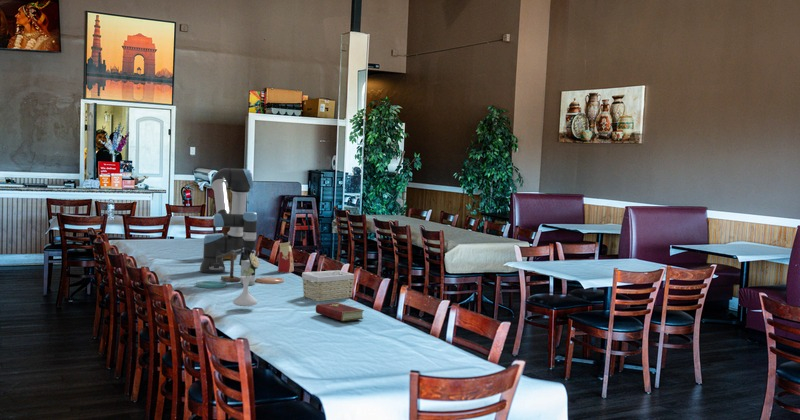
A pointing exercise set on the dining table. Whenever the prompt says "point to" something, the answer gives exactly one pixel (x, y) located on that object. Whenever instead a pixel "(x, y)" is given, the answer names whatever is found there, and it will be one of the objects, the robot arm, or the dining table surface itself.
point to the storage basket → (327, 285)
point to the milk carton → (285, 258)
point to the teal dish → (211, 284)
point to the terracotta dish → (269, 280)
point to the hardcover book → (339, 311)
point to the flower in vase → (245, 296)
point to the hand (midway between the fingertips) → (247, 279)
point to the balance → (231, 277)
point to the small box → (245, 266)
